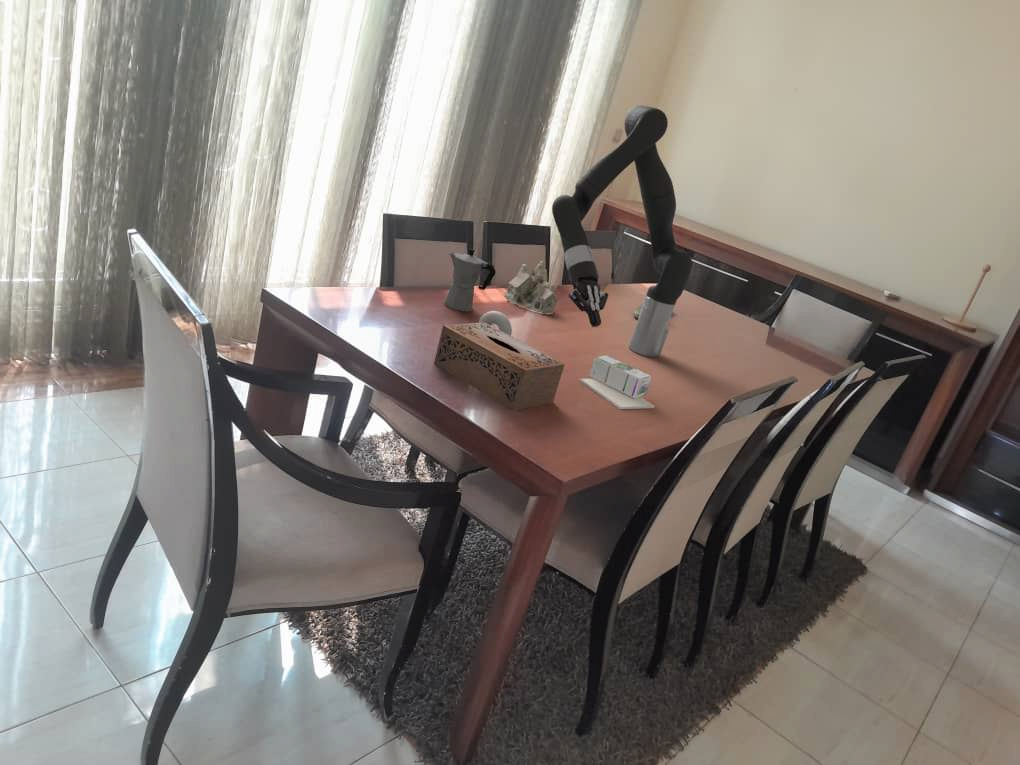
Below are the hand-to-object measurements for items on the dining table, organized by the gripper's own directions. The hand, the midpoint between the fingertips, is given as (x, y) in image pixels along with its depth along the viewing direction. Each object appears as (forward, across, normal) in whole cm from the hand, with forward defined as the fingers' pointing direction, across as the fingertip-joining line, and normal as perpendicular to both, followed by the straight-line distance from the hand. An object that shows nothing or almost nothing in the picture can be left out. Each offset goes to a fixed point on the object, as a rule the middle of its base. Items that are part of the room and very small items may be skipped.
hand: (596, 325), depth 195 cm
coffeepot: (-23, -11, +42) cm, 49 cm away
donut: (-1, -21, +20) cm, 29 cm away
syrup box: (+9, 0, +4) cm, 10 cm away
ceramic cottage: (-27, +19, +46) cm, 57 cm away
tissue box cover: (+14, -34, +5) cm, 37 cm away
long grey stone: (-26, +79, +46) cm, 95 cm away
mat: (+19, 0, -1) cm, 19 cm away
